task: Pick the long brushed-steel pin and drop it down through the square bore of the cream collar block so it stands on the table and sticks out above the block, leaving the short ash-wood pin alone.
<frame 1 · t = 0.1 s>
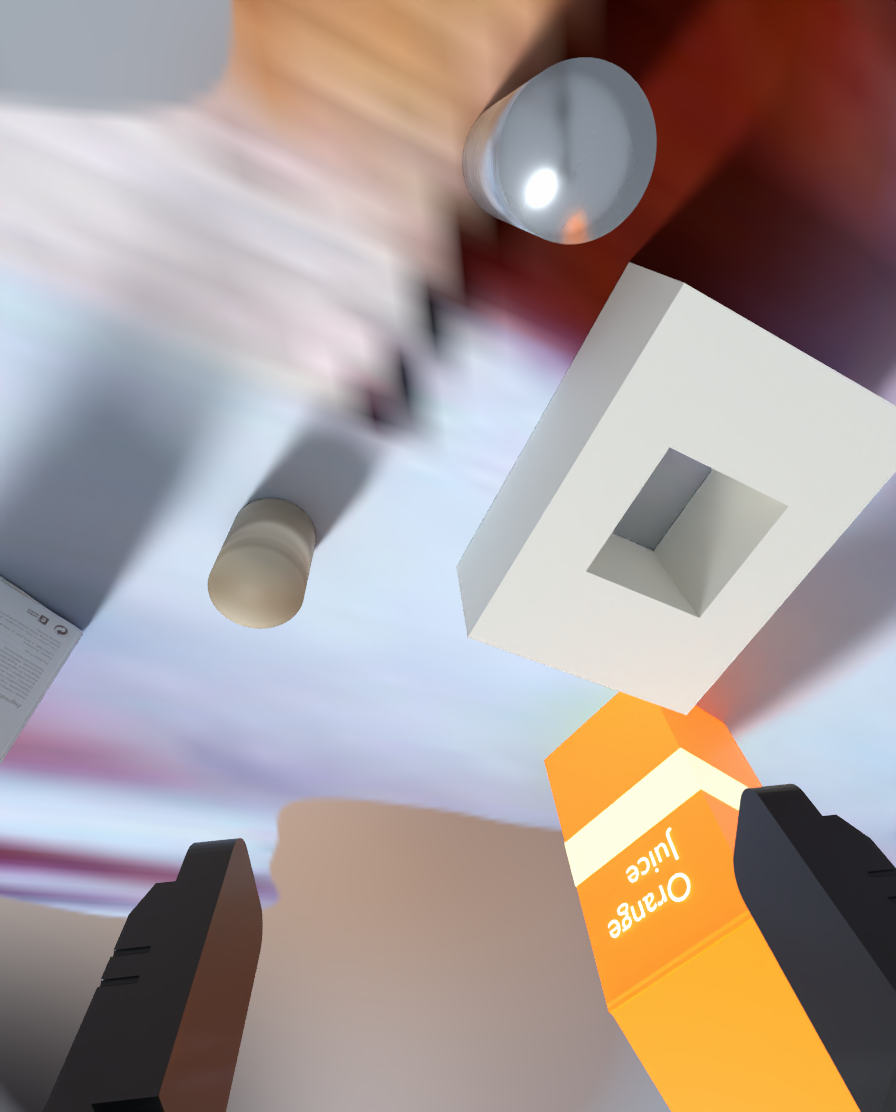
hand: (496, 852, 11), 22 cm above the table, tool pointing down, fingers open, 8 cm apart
hole block: (638, 480, 32), on the table
long pin: (514, 161, 25), on the table
orange juice: (633, 739, 42), on the table
short pin: (274, 534, 32), on the table
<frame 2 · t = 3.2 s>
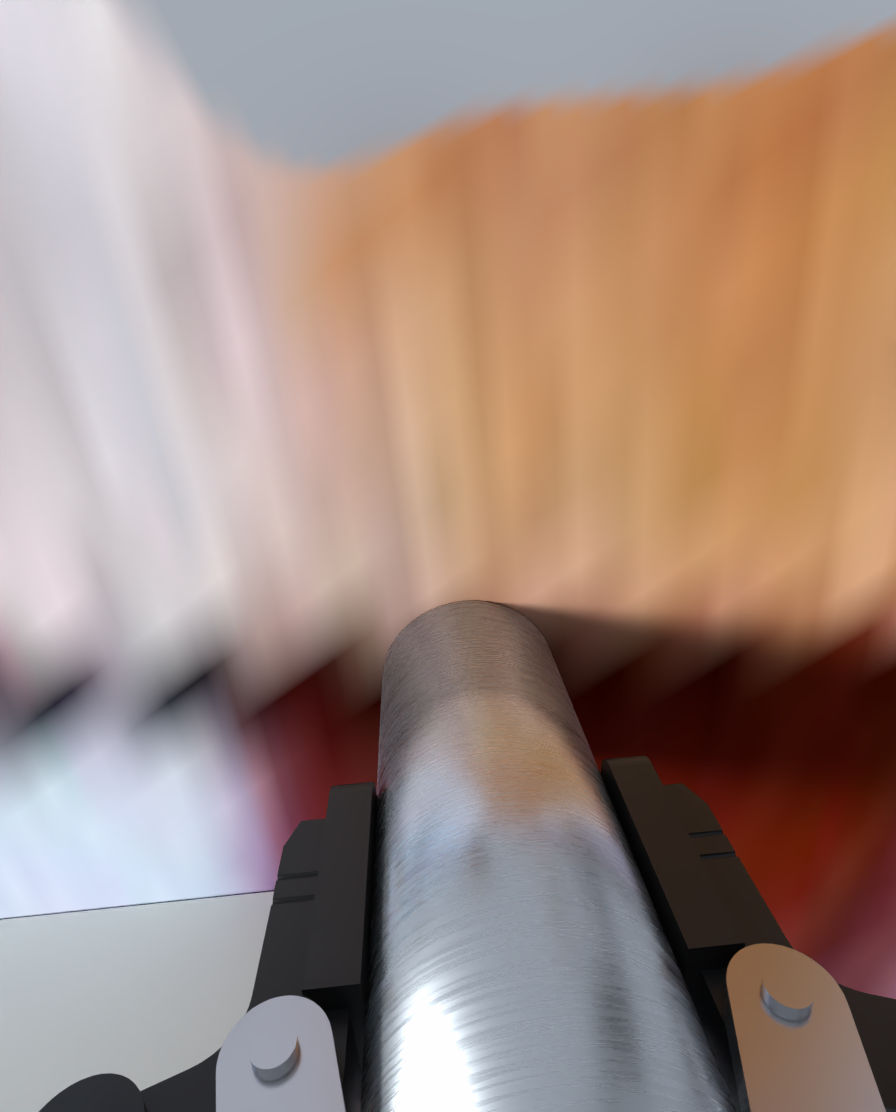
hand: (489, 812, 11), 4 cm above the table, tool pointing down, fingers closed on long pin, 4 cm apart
hole block: (191, 1050, 20), on the table
long pin: (468, 677, 15), on the table, touching gripper
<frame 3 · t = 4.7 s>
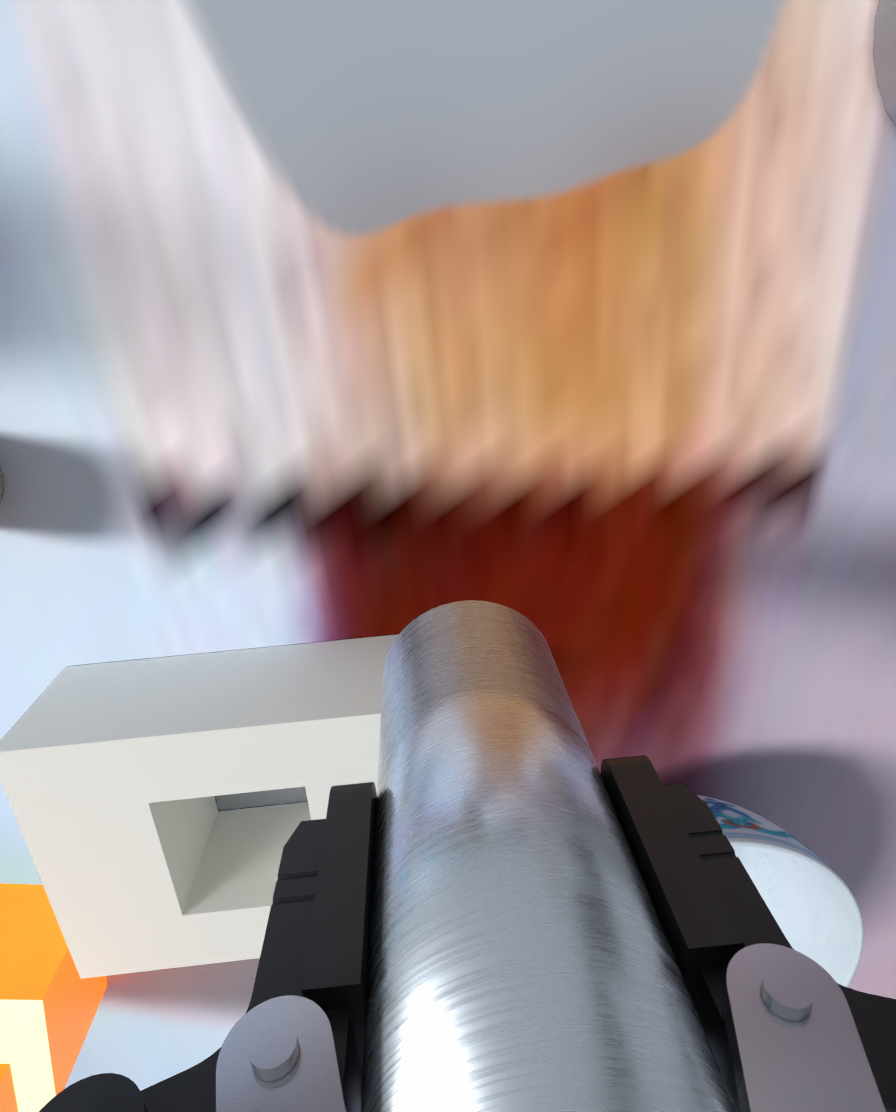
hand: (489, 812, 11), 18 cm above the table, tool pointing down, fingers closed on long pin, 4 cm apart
hole block: (268, 756, 32), on the table
long pin: (468, 677, 15), point 14 cm above the table, touching gripper
orange juice: (20, 933, 36), on the table
chinaware: (635, 836, 36), on the table
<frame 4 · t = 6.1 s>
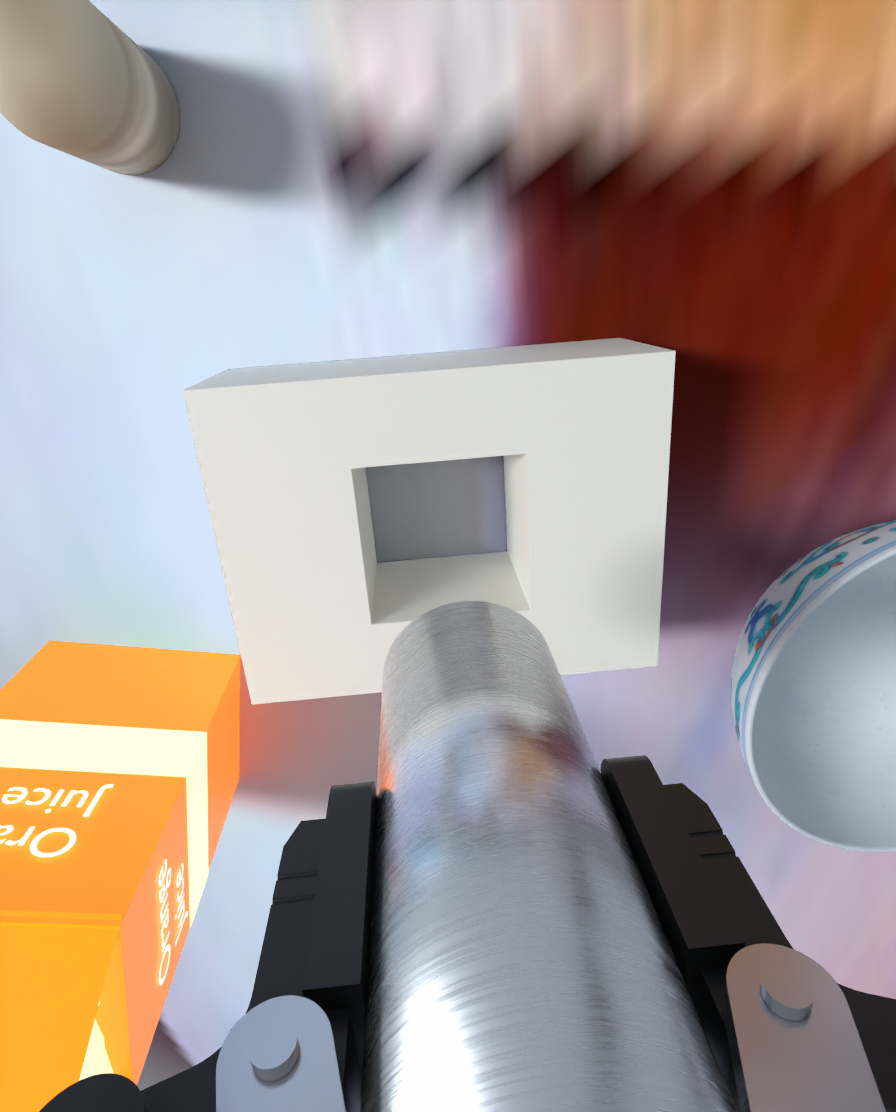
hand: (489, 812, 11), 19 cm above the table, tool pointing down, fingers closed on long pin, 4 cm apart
hole block: (437, 494, 29), on the table
long pin: (468, 678, 15), point 15 cm above the table, touching gripper
orange juice: (151, 712, 33), on the table
chinaware: (819, 613, 33), on the table
short pin: (121, 109, 23), on the table
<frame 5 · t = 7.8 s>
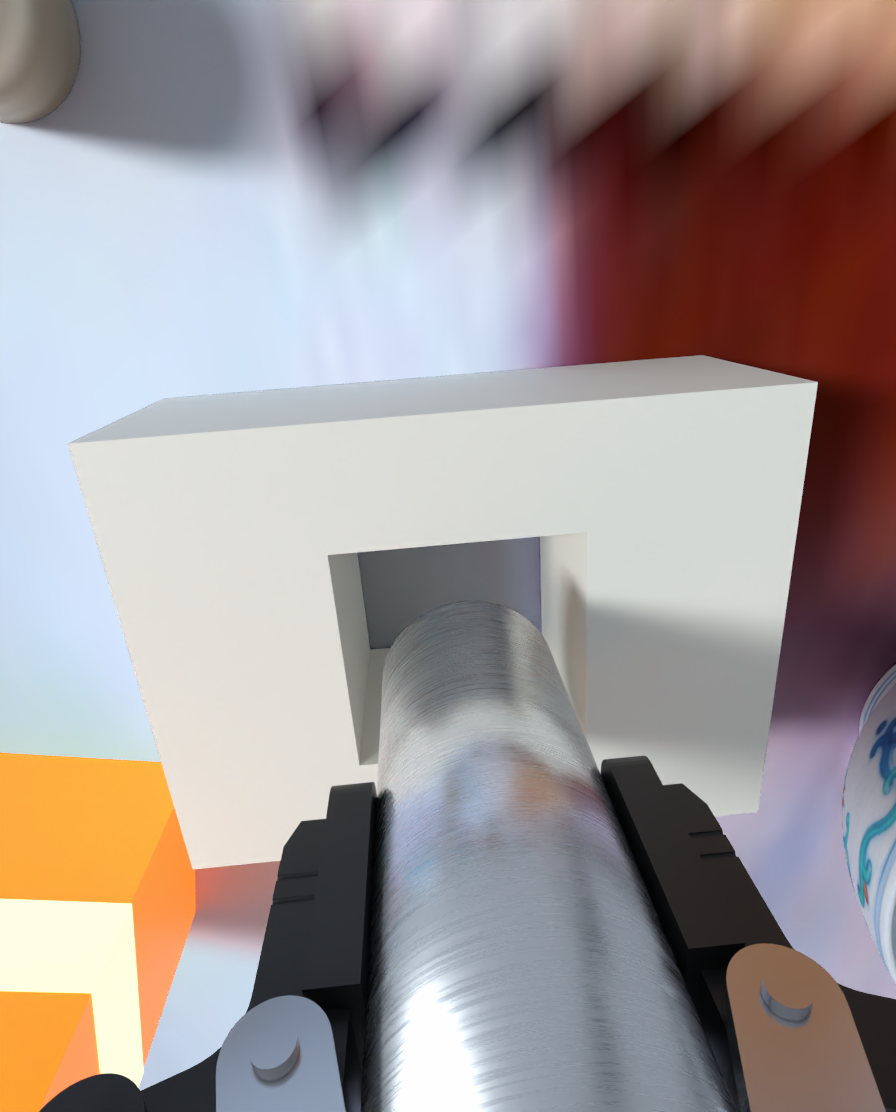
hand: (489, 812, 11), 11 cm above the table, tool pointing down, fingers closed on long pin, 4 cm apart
hole block: (450, 562, 22), on the table
long pin: (468, 678, 15), point 7 cm above the table, touching gripper
orange juice: (80, 832, 25), on the table
when the fingers open (7 cm above the table, at t = 9.2 s): long pin drops 3 cm, resting in hole block.
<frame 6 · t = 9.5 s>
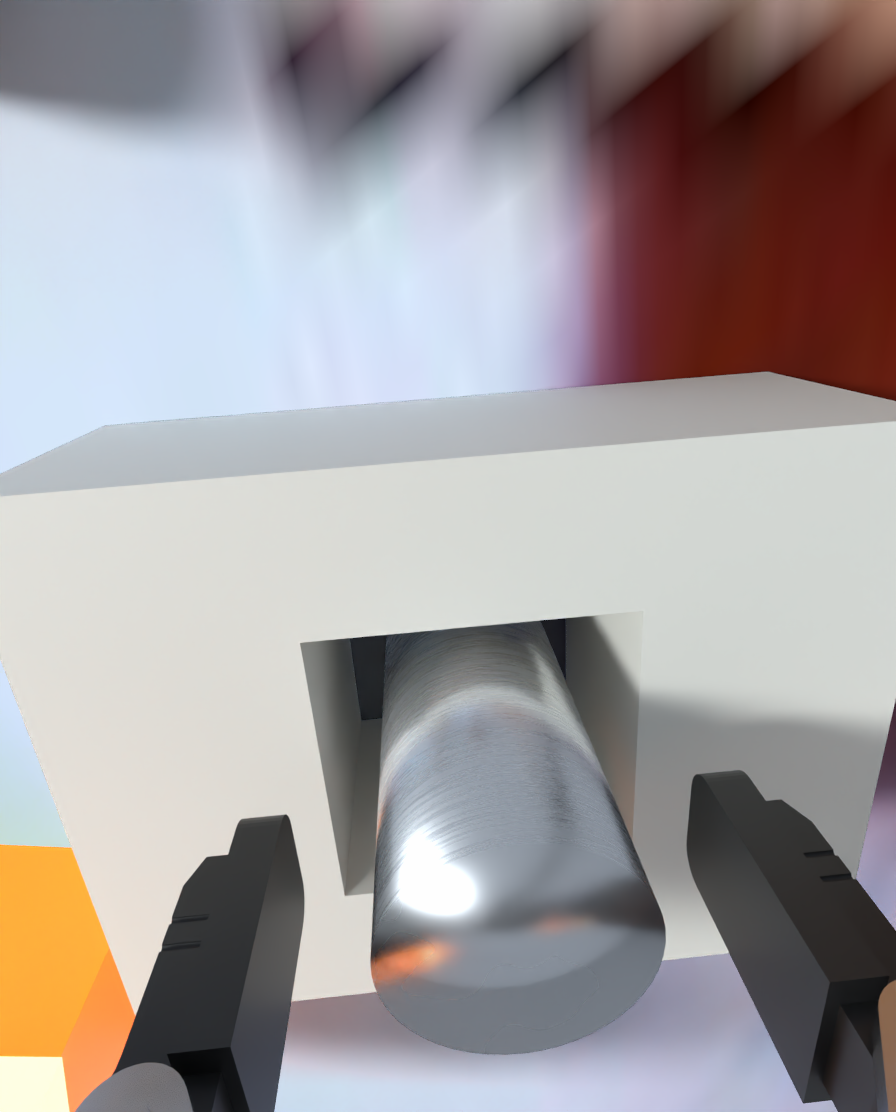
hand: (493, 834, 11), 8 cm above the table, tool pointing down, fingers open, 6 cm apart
hole block: (457, 619, 18), on the table
long pin: (460, 617, 18), resting in hole block
orange juice: (21, 927, 22), on the table
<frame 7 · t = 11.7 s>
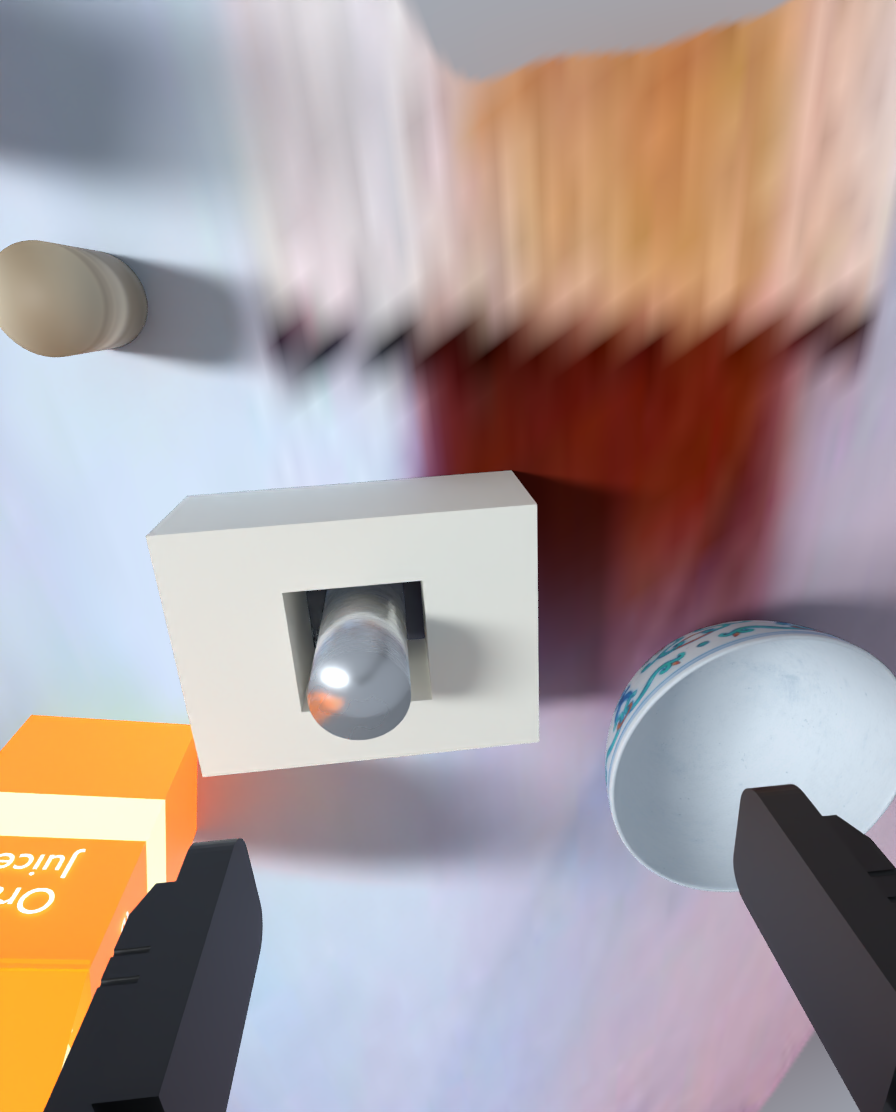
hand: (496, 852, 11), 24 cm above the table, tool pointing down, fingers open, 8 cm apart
hole block: (364, 593, 35), on the table
long pin: (365, 592, 35), resting in hole block
orange juice: (119, 773, 38), on the table
chinaware: (692, 686, 39), on the table
short pin: (99, 300, 29), on the table
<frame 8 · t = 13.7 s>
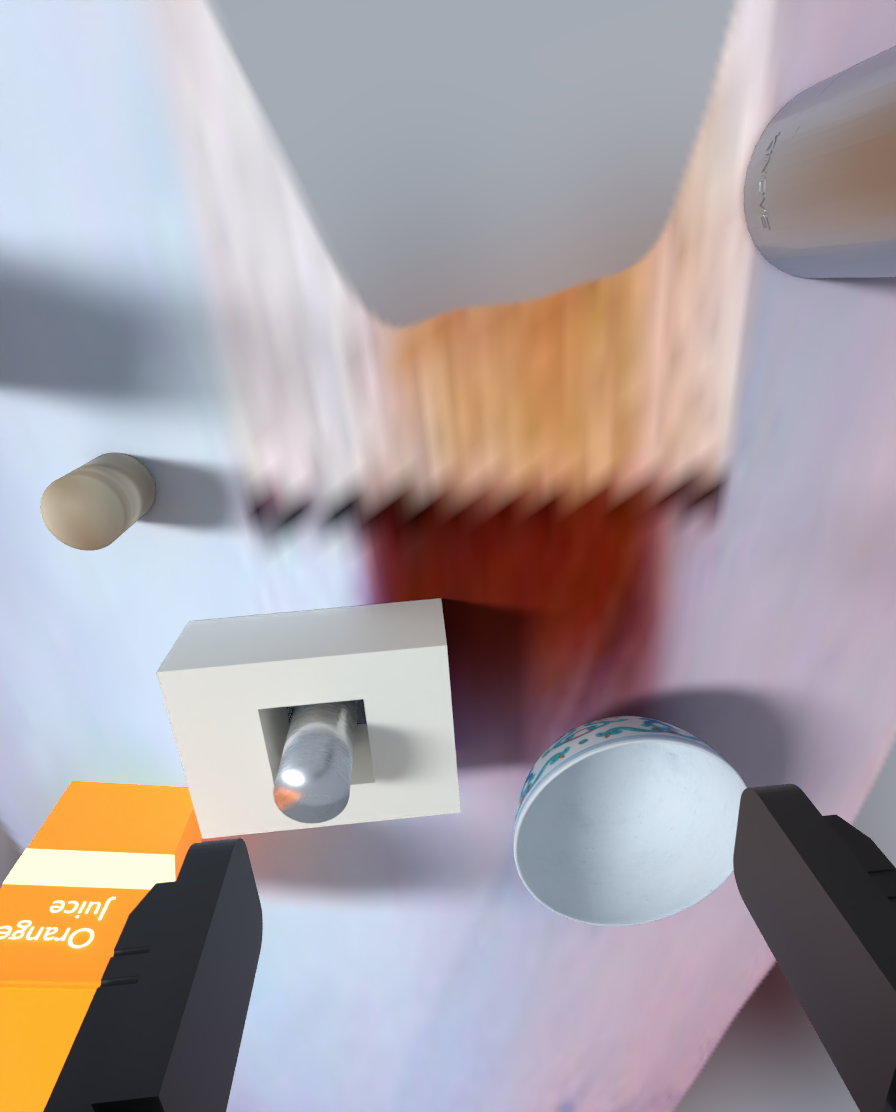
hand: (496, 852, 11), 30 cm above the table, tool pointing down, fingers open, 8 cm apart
hole block: (328, 689, 44), on the table
long pin: (330, 688, 44), resting in hole block
orange juice: (140, 824, 48), on the table
chinaware: (599, 755, 48), on the table
short pin: (120, 486, 38), on the table
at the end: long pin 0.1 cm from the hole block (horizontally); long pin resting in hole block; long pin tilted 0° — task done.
